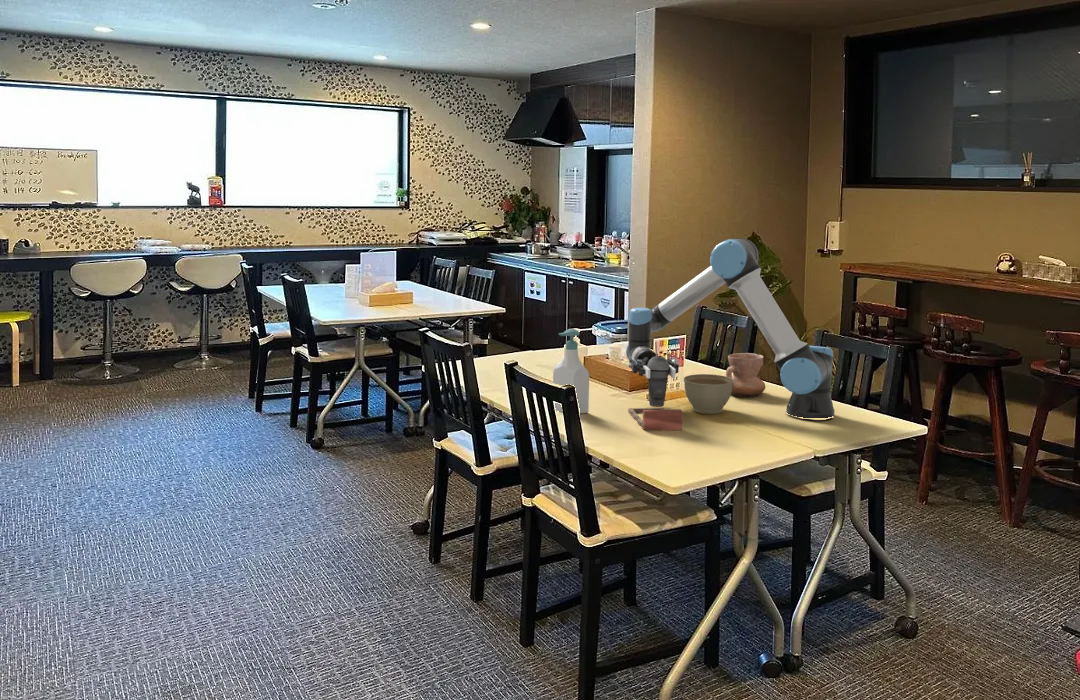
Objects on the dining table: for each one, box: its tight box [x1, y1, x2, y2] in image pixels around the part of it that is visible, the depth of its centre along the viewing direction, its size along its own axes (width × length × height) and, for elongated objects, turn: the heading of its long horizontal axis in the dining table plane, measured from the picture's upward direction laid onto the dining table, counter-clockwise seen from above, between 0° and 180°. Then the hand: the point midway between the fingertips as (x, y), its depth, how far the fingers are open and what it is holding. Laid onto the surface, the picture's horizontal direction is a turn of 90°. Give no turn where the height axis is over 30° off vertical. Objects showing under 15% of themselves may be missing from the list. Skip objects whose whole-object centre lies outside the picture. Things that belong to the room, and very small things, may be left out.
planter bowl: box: [683, 373, 734, 415], centre depth 302 cm, size 16×16×11 cm
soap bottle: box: [552, 328, 590, 414], centre depth 297 cm, size 11×8×27 cm
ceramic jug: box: [725, 352, 766, 397], centre depth 326 cm, size 18×14×14 cm
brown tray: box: [627, 407, 684, 431], centre depth 289 cm, size 23×12×6 cm, turn 6°
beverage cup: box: [647, 341, 670, 408], centre depth 283 cm, size 7×7×20 cm
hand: (661, 373), depth 278 cm, fingers closed on beverage cup, 7 cm apart
